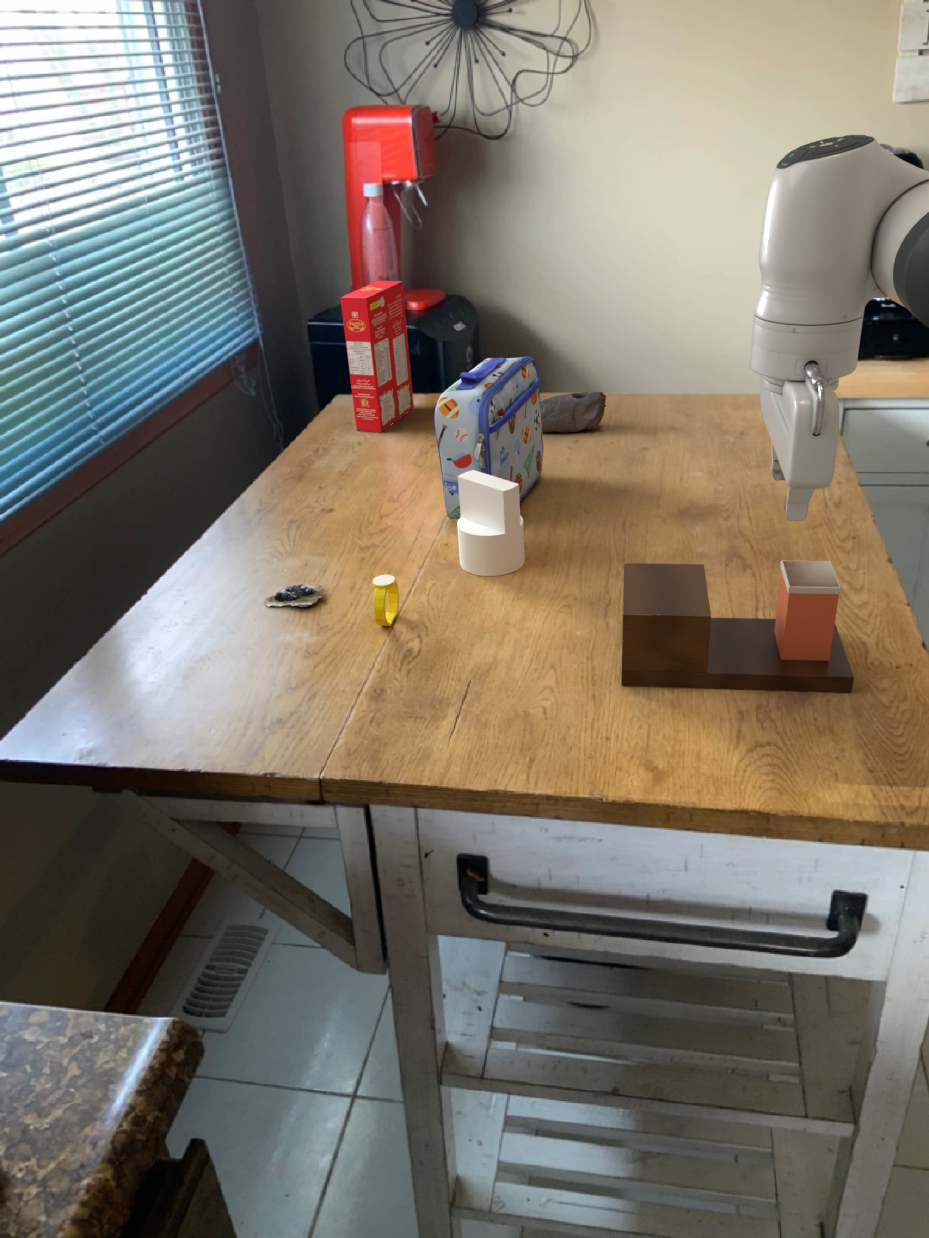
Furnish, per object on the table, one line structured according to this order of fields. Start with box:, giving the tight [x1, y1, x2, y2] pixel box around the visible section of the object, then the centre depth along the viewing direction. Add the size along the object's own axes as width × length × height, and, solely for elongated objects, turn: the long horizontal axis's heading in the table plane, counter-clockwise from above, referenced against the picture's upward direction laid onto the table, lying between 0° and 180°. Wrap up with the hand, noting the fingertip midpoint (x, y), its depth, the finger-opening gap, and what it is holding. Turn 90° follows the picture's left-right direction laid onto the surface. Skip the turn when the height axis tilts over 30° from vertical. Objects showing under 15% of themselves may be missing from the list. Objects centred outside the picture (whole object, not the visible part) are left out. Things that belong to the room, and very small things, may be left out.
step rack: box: [620, 562, 855, 694], centre depth 107 cm, size 24×12×9 cm, turn 81°
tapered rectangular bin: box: [774, 560, 842, 661], centre depth 105 cm, size 5×6×9 cm
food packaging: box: [340, 280, 415, 433], centre depth 186 cm, size 15×5×25 cm, turn 157°
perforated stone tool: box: [540, 391, 607, 433], centre depth 178 cm, size 15×5×7 cm, turn 87°
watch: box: [372, 574, 400, 627], centre depth 120 cm, size 6×3×6 cm, turn 167°
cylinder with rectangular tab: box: [456, 470, 526, 577], centre depth 132 cm, size 9×9×12 cm
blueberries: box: [263, 583, 324, 608], centre depth 128 cm, size 7×8×2 cm
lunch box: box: [434, 355, 544, 520], centre depth 147 cm, size 28×10×22 cm, turn 161°
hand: (787, 497), depth 90 cm, fingers open, 8 cm apart
